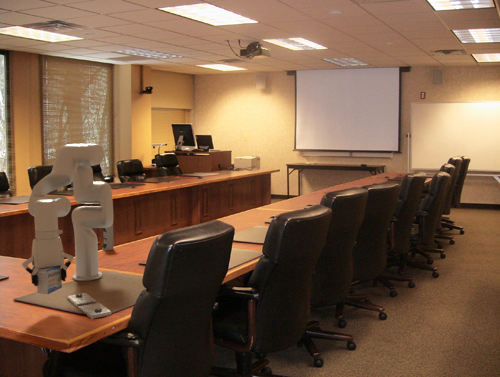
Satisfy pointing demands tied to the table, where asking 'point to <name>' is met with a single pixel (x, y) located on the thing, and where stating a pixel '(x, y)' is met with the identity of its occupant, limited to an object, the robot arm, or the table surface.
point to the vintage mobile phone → (108, 238)
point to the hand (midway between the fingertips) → (49, 282)
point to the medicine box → (49, 279)
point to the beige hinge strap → (89, 305)
